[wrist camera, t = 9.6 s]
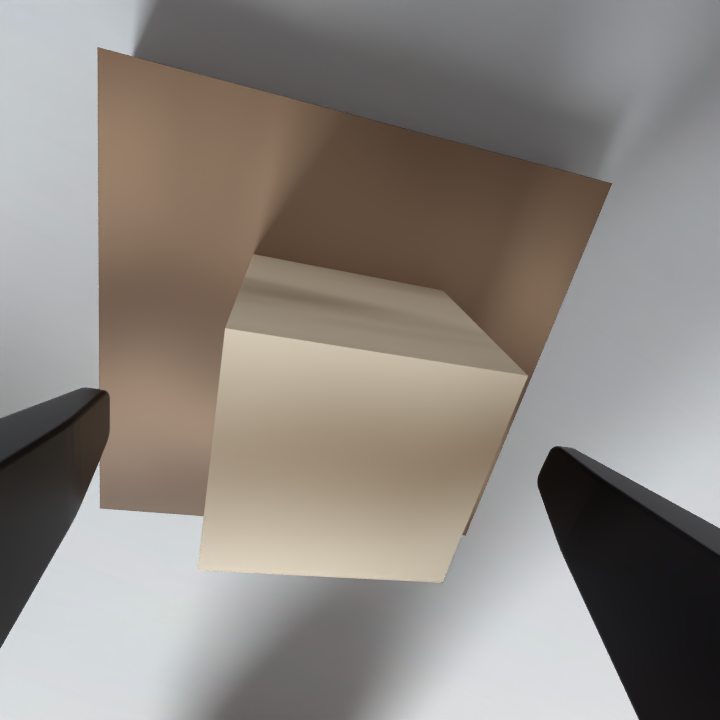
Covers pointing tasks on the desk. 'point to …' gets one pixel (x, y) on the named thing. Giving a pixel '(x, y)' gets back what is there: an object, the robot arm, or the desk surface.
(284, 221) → the walnut base
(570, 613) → the desk surface
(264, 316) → the birch cube
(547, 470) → the robot arm
